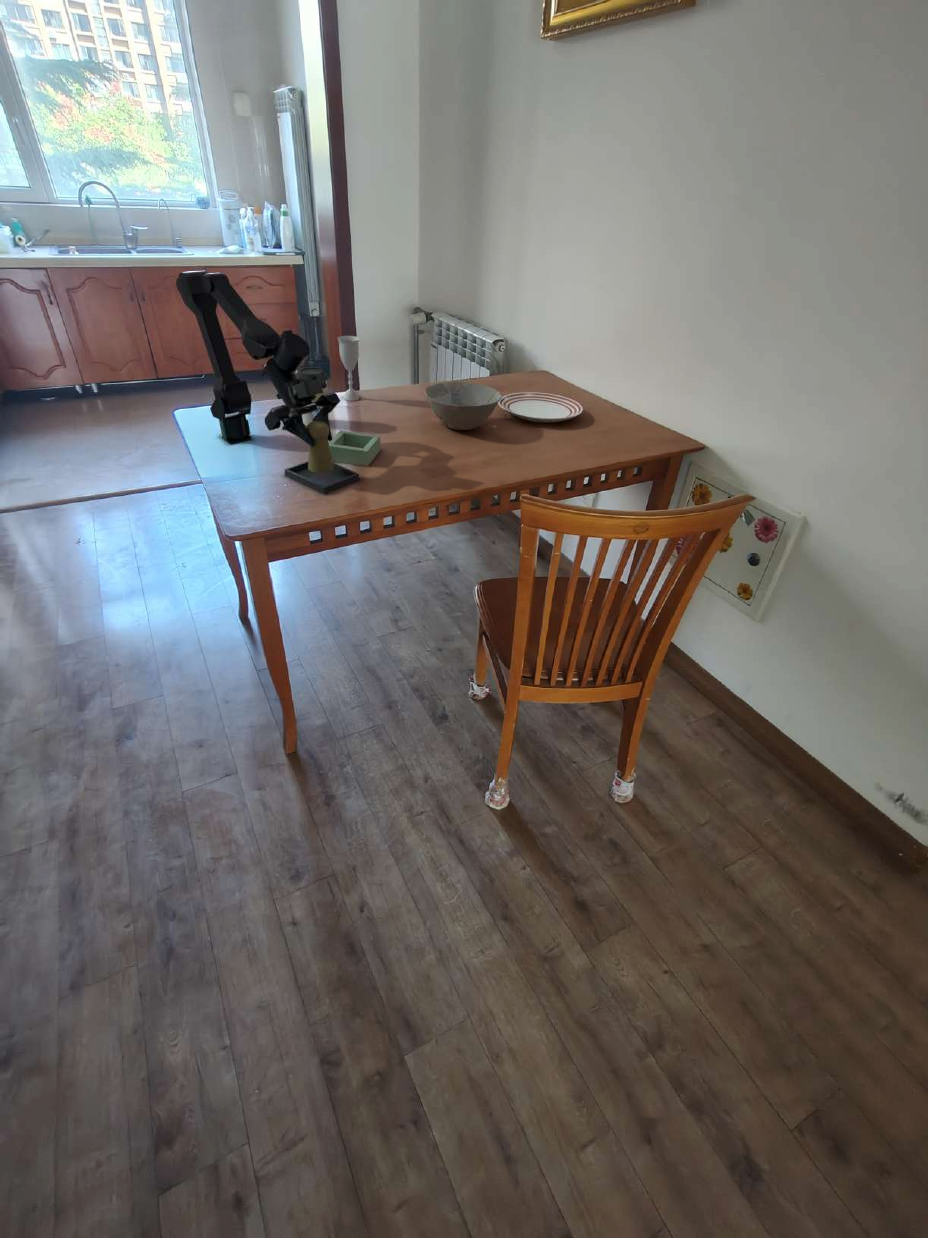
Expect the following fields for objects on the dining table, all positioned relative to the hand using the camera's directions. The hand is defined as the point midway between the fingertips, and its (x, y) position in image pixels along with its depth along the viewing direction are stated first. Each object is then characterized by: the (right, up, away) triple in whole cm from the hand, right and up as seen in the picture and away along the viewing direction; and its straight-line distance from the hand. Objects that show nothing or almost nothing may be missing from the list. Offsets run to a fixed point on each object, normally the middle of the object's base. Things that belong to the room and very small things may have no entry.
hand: (322, 443), depth 138 cm
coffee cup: (-11, +16, +35) cm, 40 cm away
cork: (-2, -5, +5) cm, 7 cm away
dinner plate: (+58, +26, +55) cm, 84 cm away
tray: (-2, -7, +6) cm, 9 cm away
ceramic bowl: (+32, +17, +41) cm, 55 cm away
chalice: (-4, +31, +54) cm, 63 cm away
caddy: (+4, +2, +18) cm, 19 cm away
